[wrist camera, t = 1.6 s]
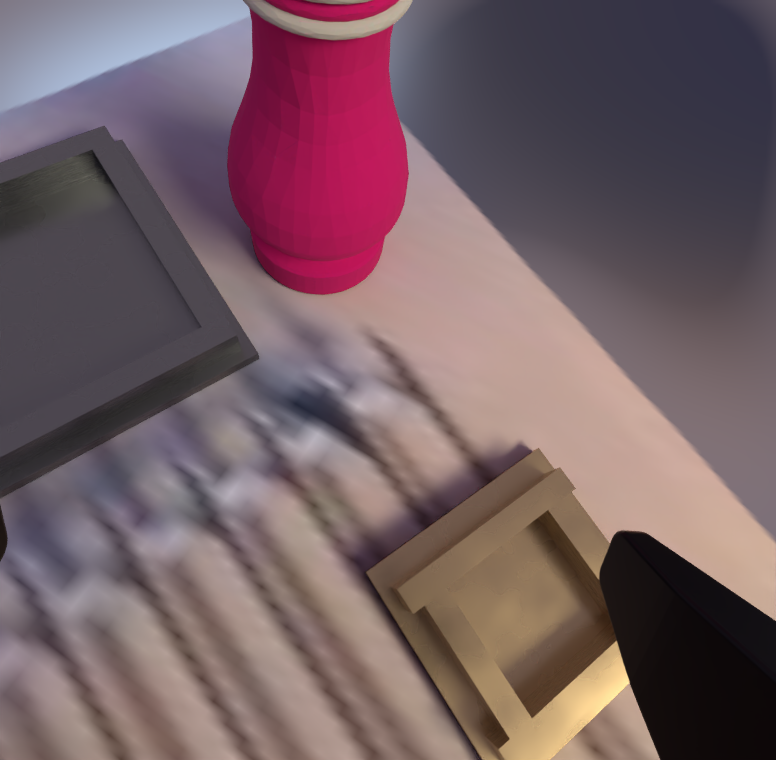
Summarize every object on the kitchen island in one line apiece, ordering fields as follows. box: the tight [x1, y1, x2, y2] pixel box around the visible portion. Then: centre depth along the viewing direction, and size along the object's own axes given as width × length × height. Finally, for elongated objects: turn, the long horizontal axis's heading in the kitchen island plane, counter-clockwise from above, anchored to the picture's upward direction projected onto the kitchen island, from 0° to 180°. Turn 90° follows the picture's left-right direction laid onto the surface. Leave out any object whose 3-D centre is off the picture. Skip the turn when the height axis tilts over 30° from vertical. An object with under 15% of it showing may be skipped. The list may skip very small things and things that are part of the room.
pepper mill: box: [227, 0, 413, 295], centre depth 16 cm, size 7×7×20 cm
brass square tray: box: [365, 448, 630, 760], centre depth 20 cm, size 9×9×2 cm
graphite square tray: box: [0, 126, 259, 498], centre depth 21 cm, size 13×13×2 cm
